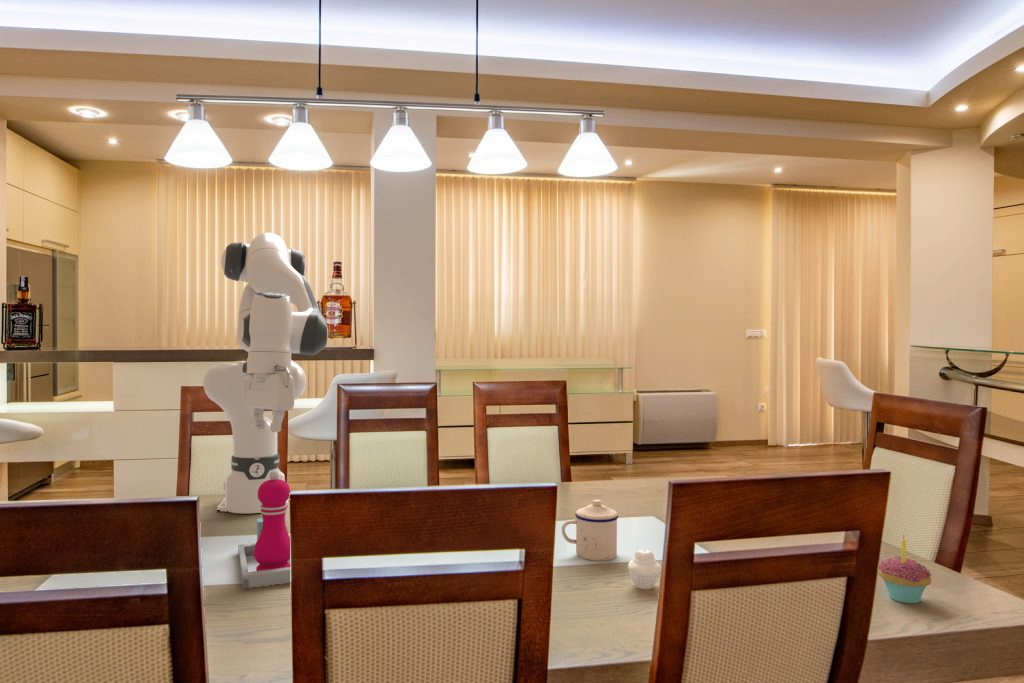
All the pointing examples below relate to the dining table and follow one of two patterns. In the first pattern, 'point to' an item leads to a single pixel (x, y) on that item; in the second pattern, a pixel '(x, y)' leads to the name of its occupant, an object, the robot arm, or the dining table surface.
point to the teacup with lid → (594, 532)
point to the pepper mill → (273, 525)
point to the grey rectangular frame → (265, 575)
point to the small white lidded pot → (644, 569)
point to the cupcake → (904, 577)
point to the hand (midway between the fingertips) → (267, 430)
